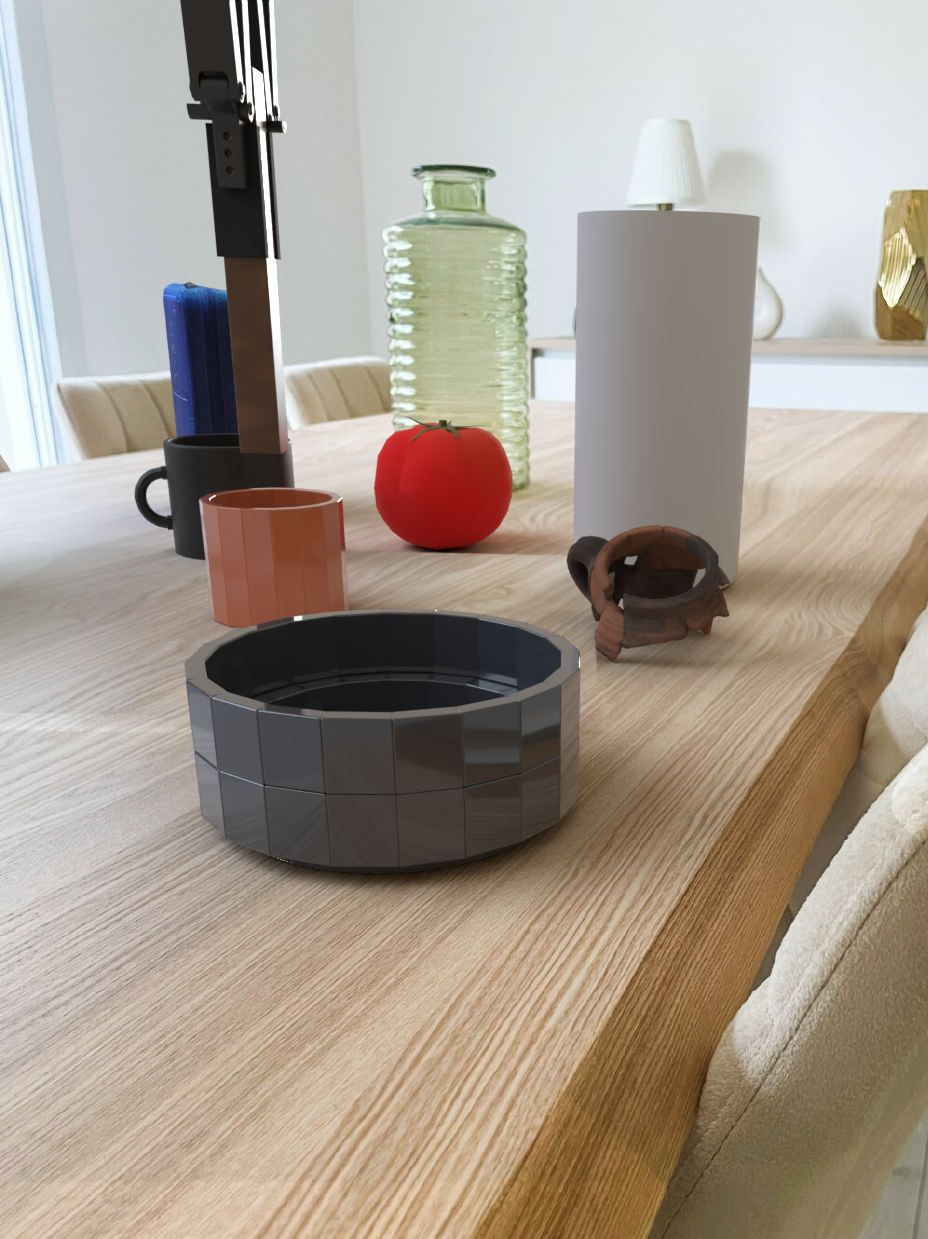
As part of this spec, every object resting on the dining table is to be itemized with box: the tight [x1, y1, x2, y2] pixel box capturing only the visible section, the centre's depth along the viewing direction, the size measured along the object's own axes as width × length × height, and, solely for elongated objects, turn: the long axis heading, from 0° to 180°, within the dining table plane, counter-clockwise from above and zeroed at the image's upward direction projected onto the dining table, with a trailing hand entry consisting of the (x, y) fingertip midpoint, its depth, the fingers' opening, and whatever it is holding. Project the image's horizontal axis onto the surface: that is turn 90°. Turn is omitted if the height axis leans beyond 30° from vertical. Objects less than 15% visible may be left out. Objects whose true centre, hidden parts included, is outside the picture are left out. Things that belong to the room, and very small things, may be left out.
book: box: [162, 281, 239, 437], centre depth 111 cm, size 14×5×20 cm, turn 25°
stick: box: [223, 66, 289, 455], centre depth 69 cm, size 2×2×20 cm
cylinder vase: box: [572, 209, 762, 590], centre depth 87 cm, size 12×12×25 cm
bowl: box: [183, 608, 582, 875], centre depth 50 cm, size 16×16×6 cm
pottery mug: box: [566, 525, 731, 662], centre depth 74 cm, size 12×10×8 cm
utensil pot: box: [199, 487, 350, 629], centre depth 76 cm, size 8×8×8 cm
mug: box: [134, 433, 296, 561], centre depth 94 cm, size 9×12×9 cm
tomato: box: [373, 416, 514, 550], centre depth 101 cm, size 12×12×10 cm
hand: (249, 257), depth 69 cm, fingers closed on stick, 2 cm apart
